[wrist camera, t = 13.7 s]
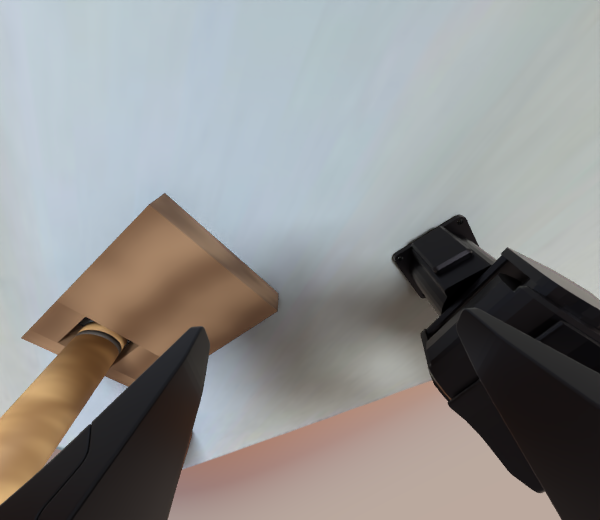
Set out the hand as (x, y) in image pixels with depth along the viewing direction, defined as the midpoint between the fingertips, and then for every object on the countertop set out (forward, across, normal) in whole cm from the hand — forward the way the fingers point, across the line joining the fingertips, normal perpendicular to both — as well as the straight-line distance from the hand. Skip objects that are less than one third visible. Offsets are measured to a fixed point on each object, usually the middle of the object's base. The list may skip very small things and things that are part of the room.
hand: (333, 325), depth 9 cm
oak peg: (+13, +21, +12) cm, 27 cm away
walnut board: (+13, +15, +10) cm, 22 cm away
